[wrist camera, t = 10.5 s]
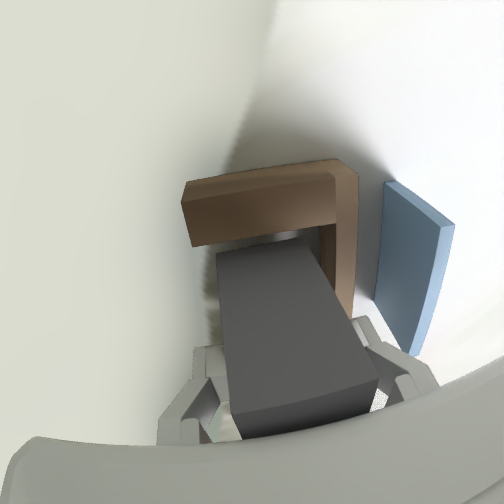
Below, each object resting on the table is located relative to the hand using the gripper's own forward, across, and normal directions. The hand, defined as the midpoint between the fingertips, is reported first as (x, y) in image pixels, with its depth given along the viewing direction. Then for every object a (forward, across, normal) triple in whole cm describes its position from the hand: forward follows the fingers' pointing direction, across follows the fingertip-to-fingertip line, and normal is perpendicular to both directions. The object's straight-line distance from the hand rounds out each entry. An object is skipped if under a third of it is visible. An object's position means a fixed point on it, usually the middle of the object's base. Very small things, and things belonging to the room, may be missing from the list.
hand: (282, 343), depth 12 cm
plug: (+4, 0, 0) cm, 4 cm away
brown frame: (+5, -2, +5) cm, 7 cm away
